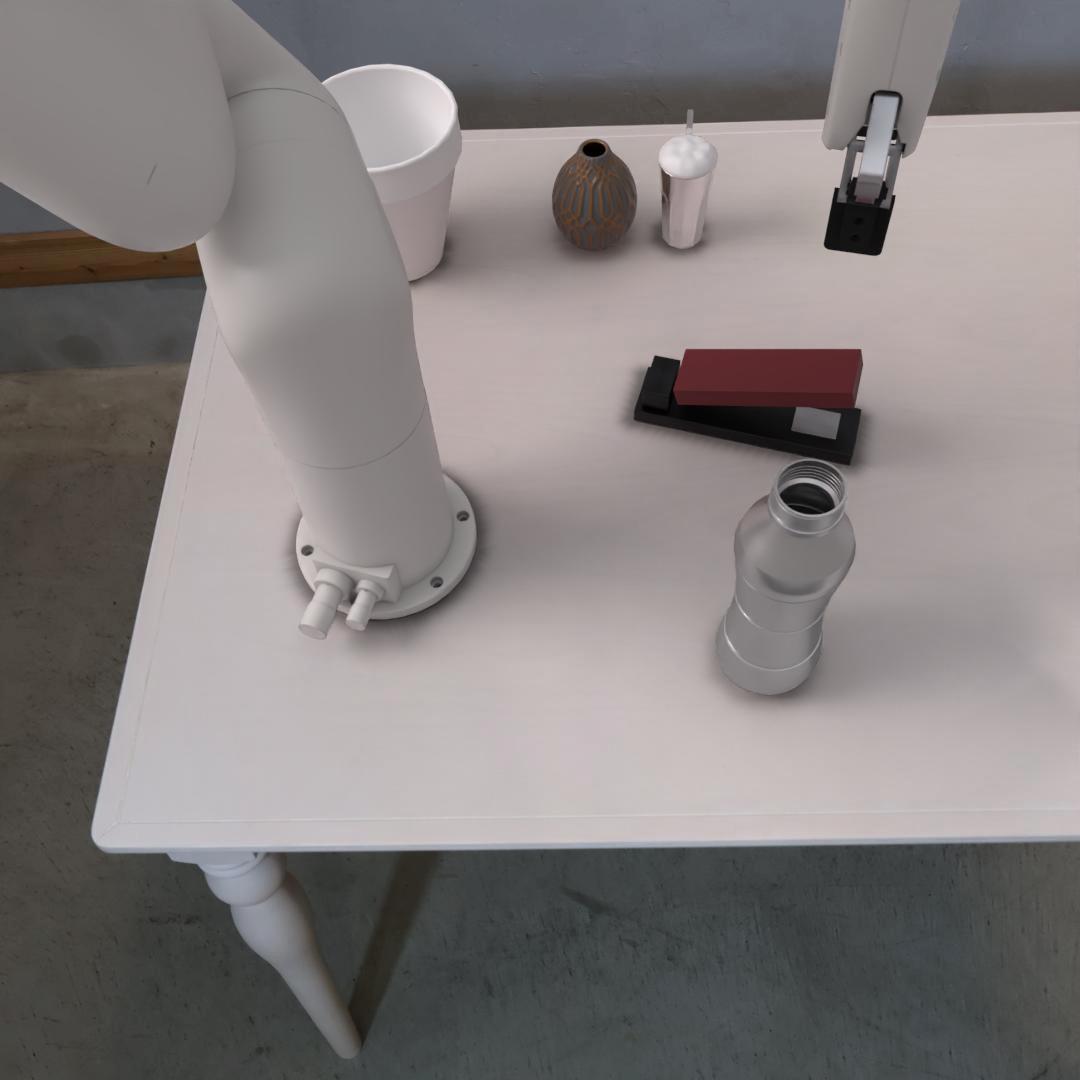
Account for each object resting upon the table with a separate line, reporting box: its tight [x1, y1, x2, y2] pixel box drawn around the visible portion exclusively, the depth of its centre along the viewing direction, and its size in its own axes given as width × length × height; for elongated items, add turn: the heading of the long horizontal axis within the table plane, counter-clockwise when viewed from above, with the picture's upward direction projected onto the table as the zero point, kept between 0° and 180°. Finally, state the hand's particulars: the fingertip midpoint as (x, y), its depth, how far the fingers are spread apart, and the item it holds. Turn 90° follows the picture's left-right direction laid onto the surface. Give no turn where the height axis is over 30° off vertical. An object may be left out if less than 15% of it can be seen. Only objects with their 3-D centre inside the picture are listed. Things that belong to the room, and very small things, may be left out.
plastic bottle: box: [715, 458, 857, 696], centre depth 65 cm, size 6×7×20 cm
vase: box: [551, 138, 638, 252], centre depth 91 cm, size 7×7×9 cm
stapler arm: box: [673, 348, 864, 408], centre depth 79 cm, size 12×4×2 cm, turn 73°
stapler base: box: [633, 354, 863, 466], centre depth 82 cm, size 16×4×3 cm, turn 73°
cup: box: [321, 63, 463, 282], centre depth 89 cm, size 12×12×14 cm
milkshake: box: [657, 109, 719, 250], centre depth 90 cm, size 4×5×10 cm
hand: (862, 189), depth 66 cm, fingers open, 9 cm apart
